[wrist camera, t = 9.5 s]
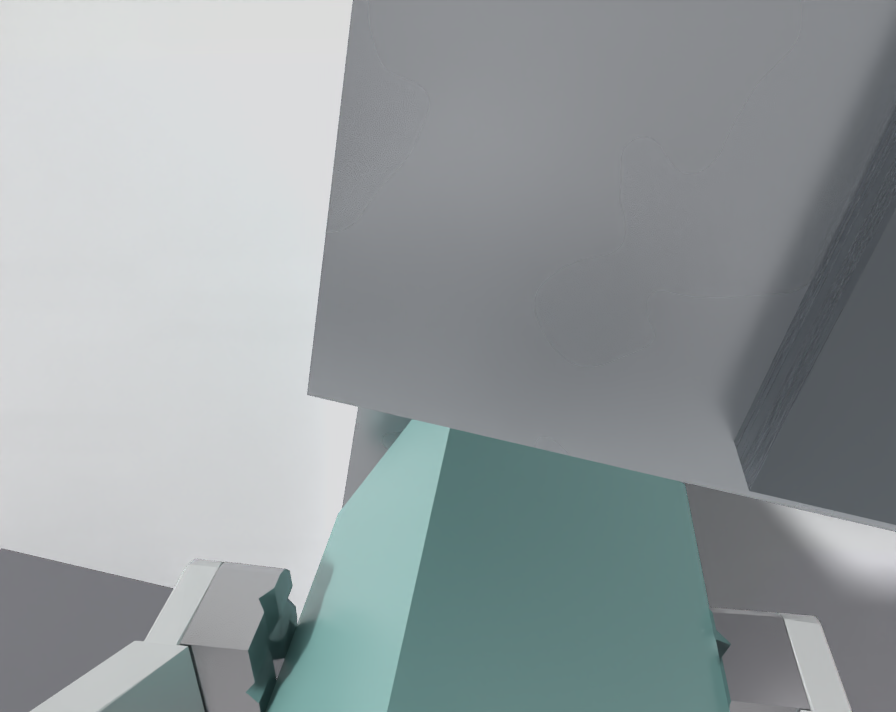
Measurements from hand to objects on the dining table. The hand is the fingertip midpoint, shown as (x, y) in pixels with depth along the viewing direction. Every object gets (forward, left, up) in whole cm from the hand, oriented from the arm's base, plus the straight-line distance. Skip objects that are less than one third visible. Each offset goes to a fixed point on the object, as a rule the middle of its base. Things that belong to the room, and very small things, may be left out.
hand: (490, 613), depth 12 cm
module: (0, 0, -3) cm, 3 cm away
